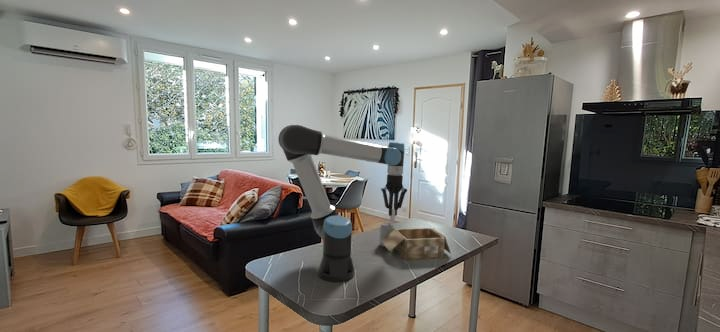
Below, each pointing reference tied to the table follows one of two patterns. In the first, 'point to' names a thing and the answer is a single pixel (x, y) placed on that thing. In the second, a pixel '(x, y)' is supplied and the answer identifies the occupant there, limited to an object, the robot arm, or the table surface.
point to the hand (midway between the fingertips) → (392, 222)
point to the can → (385, 231)
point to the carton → (420, 244)
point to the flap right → (445, 242)
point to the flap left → (392, 240)
